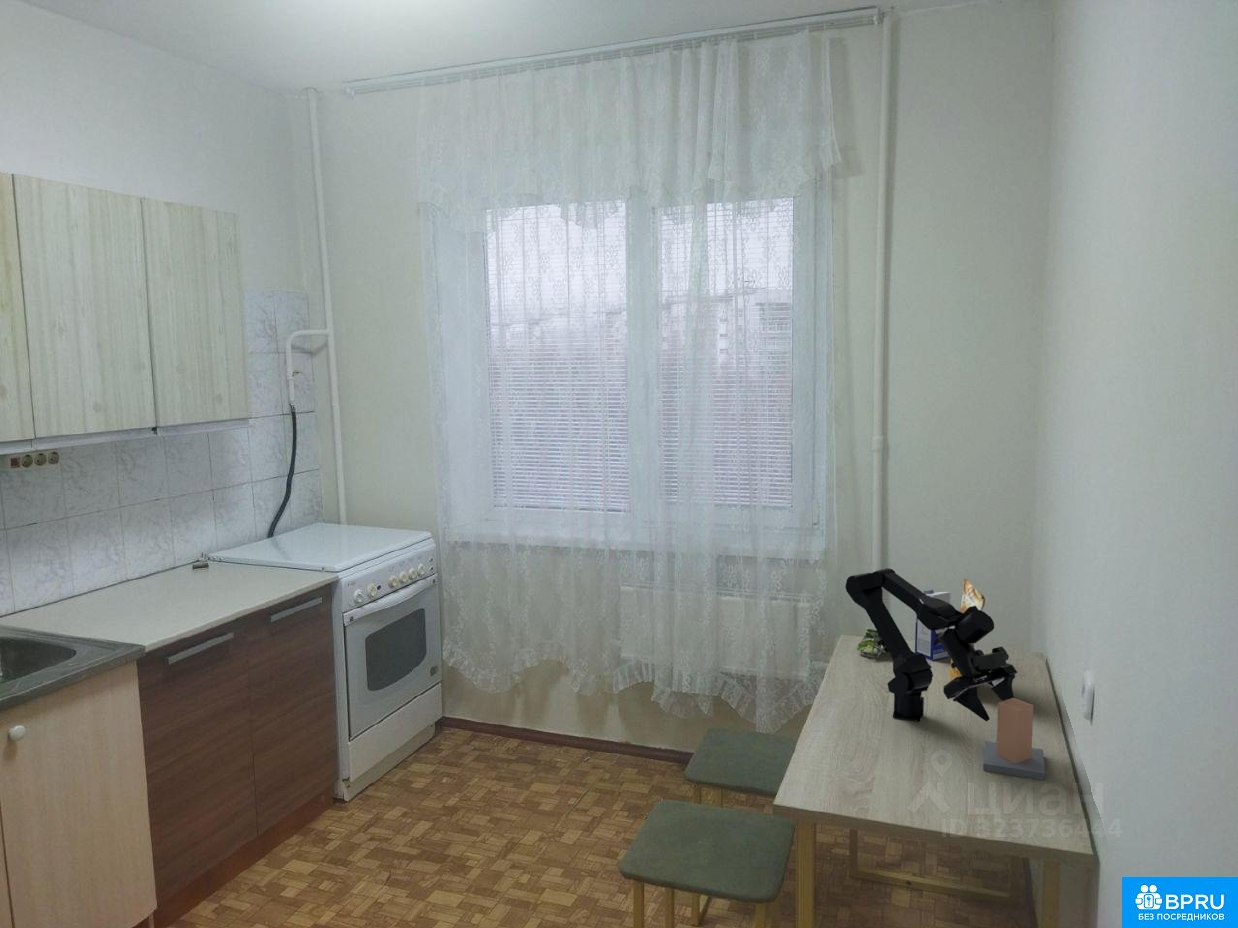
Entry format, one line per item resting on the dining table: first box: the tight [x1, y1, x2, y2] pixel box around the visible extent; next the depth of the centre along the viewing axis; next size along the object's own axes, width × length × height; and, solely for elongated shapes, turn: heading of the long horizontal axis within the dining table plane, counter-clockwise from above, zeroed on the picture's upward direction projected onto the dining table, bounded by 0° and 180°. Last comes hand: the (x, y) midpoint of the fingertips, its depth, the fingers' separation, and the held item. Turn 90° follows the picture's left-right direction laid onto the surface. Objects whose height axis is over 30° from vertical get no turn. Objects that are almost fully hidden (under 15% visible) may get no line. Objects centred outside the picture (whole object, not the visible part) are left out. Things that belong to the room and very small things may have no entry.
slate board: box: [982, 740, 1046, 781], centre depth 189 cm, size 12×12×2 cm
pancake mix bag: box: [949, 577, 986, 681], centre depth 232 cm, size 7×19×28 cm, turn 165°
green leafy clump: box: [856, 627, 890, 661], centre depth 258 cm, size 11×11×12 cm
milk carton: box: [914, 589, 951, 662], centre depth 257 cm, size 7×7×20 cm
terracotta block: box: [996, 697, 1034, 764], centre depth 188 cm, size 5×5×12 cm
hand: (1001, 715), depth 191 cm, fingers open, 9 cm apart
